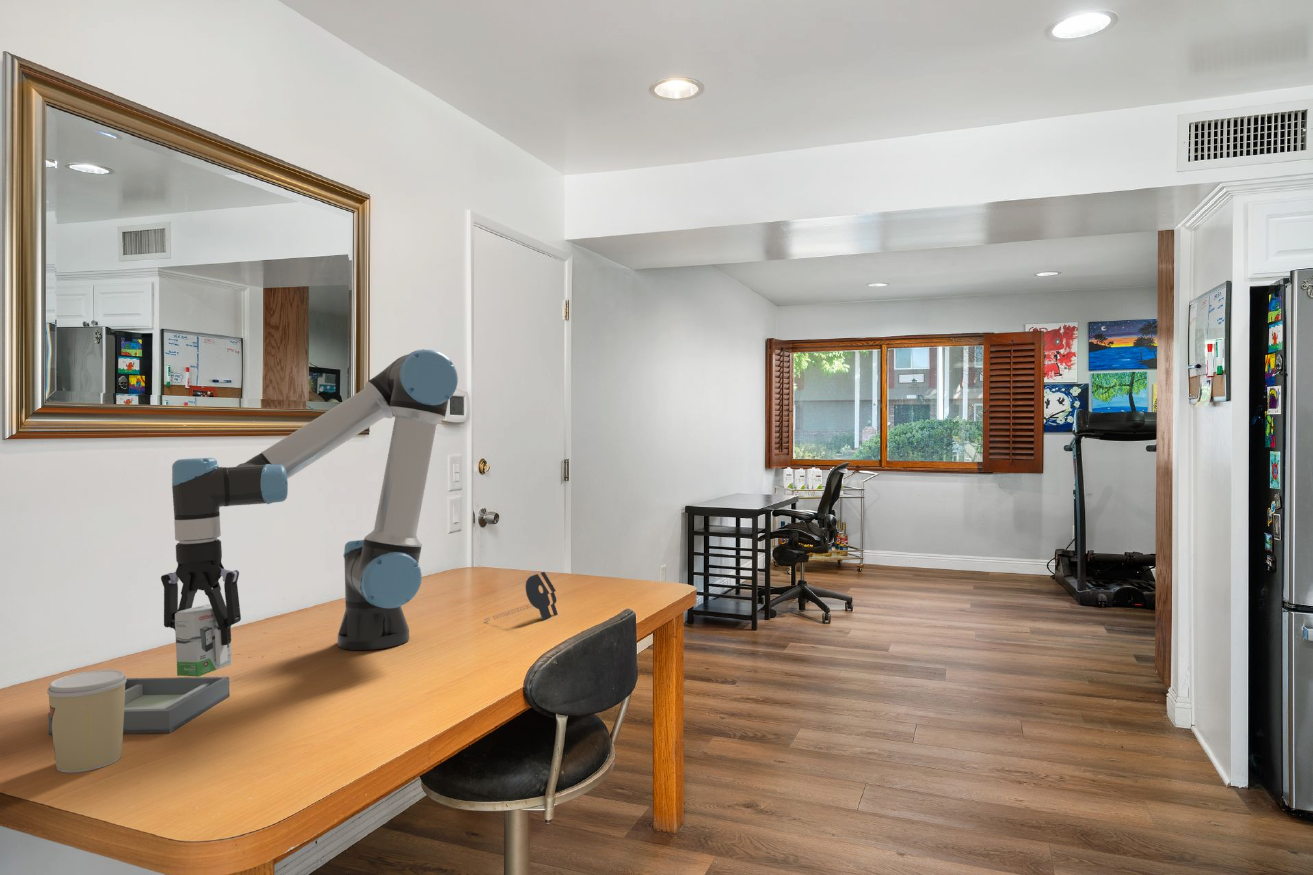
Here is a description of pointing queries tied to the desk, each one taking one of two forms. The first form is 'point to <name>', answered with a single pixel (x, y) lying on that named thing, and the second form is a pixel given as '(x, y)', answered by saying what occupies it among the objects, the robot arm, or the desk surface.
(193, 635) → the ink box
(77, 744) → the coffee cup
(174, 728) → the walled tray
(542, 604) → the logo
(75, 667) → the desk surface
